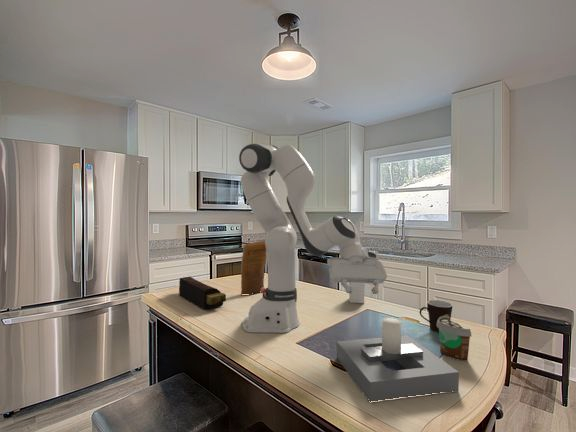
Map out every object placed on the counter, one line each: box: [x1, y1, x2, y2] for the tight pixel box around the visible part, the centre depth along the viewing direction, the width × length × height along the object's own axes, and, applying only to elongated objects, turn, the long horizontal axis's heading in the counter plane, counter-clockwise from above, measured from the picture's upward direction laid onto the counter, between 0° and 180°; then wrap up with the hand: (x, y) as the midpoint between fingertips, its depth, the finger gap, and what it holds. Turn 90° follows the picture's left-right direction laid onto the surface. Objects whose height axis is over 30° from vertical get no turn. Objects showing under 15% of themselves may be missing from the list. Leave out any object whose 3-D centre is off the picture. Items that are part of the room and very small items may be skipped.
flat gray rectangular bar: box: [361, 344, 423, 362], centre depth 83 cm, size 16×5×2 cm, turn 101°
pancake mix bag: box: [240, 240, 267, 295], centre depth 161 cm, size 7×19×28 cm, turn 136°
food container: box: [437, 316, 472, 361], centre depth 95 cm, size 12×6×10 cm, turn 5°
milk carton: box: [348, 283, 366, 304], centre depth 148 cm, size 7×7×19 cm
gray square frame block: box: [336, 335, 460, 403], centre depth 83 cm, size 24×22×5 cm
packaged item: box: [178, 276, 227, 311], centre depth 147 cm, size 39×10×10 cm, turn 40°
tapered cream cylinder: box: [381, 317, 402, 354], centre depth 83 cm, size 5×5×8 cm
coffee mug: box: [418, 299, 454, 333], centre depth 114 cm, size 12×9×10 cm
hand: (363, 292), depth 99 cm, fingers open, 8 cm apart
